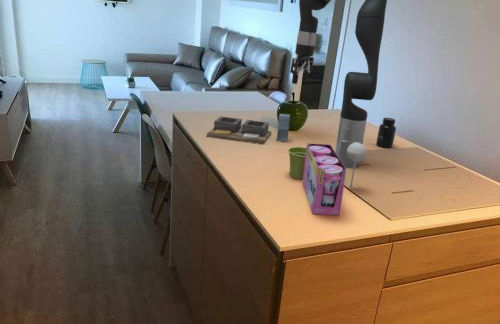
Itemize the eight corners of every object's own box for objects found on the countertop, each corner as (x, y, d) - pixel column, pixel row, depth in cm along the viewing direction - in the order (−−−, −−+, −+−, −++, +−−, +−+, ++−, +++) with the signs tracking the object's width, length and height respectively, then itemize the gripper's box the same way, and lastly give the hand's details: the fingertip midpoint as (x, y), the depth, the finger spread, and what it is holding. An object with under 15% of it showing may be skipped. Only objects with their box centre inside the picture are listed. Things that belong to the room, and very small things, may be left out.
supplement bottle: (374, 146, 188) (379, 118, 184) (377, 142, 194) (382, 115, 190) (390, 149, 186) (396, 121, 181) (393, 145, 191) (399, 118, 187)
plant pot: (315, 173, 153) (318, 149, 150) (311, 183, 144) (314, 157, 141) (288, 169, 155) (290, 145, 152) (282, 178, 146) (285, 153, 143)
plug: (286, 142, 185) (288, 116, 181) (276, 141, 185) (279, 115, 182) (287, 140, 188) (290, 114, 185) (278, 138, 189) (280, 113, 185)
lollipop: (347, 182, 146) (353, 139, 141) (363, 188, 143) (371, 143, 138) (337, 187, 142) (344, 142, 137) (354, 193, 138) (362, 147, 133)
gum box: (341, 218, 121) (348, 171, 117) (312, 216, 121) (318, 170, 117) (325, 184, 144) (331, 144, 139) (301, 183, 144) (306, 142, 139)
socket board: (263, 144, 180) (265, 131, 178) (206, 136, 184) (207, 123, 182) (271, 134, 194) (272, 122, 192) (218, 127, 199) (218, 115, 197)
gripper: (305, 45, 174) (298, 86, 180) (322, 44, 185) (315, 83, 191) (288, 42, 178) (283, 82, 184) (306, 41, 189) (300, 79, 195)
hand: (299, 82), depth 187 cm, fingers open, 8 cm apart
